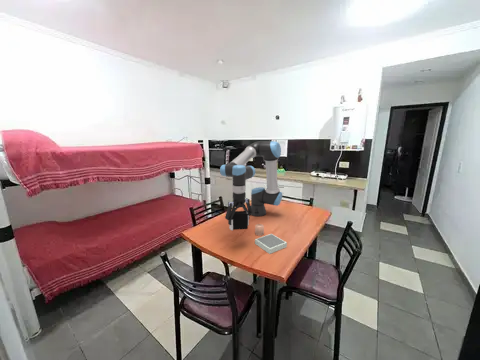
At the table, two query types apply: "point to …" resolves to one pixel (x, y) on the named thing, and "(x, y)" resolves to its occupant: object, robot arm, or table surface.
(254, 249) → the table surface
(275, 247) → the stand
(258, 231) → the pale pink rounded piece
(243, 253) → the table surface
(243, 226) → the electronic device
